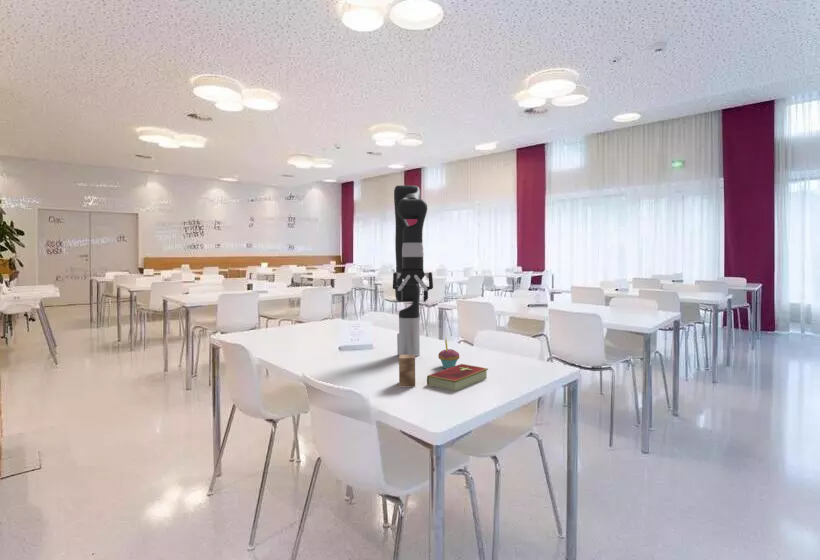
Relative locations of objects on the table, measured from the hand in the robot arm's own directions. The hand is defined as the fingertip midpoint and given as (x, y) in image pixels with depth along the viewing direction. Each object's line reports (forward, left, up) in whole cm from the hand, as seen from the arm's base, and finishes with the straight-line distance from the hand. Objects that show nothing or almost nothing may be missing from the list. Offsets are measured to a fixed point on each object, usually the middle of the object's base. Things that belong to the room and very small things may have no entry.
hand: (413, 301), depth 162 cm
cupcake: (-1, +24, -29) cm, 38 cm away
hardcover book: (+13, +9, -29) cm, 33 cm away
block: (+1, -5, -29) cm, 29 cm away
